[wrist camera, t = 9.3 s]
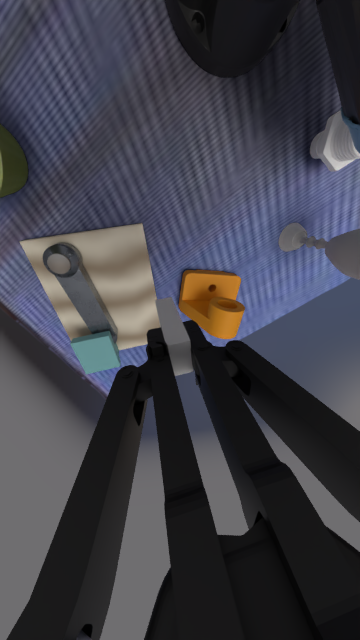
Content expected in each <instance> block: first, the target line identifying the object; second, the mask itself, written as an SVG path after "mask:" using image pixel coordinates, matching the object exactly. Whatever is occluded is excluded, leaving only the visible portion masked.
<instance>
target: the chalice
mask: <svg viewBox="0 0 360 640" xmlns="http://www.w3.org/2000/svg"><path fill="white" fill-rule="evenodd" d="M304 244H306V246H307V247H308V248H310V247H312V246H315V247H316V249H321V248H325V254H326V256H327V257H328V258H329V260H330V261H331V262H332V264H333V265H334V266H335V267H336V268H337V269H338V270H339V271H341V272H342V273H343V274H345V275H347V276H350V277H353V278H356V279H359V280H360V229H357V230H353V231H350V232H347V233H344V234H341V235H339V236H336V237H334V238H332V239H331V240H330V241H329V242H327V241H325V240H324V239H323V238H321V239H319V240H316V238H315V237H314V236H311V237H310V238H307V231H306V230H305V229H304V228H303V227H302V226H301V225H300V224H299V223H291V224H289V225H288V226H286V227H285V228H284V229H283V231H282V233H281V234H280V237H279V247H280V248H281V250H283V251H285V252H288V251H292V250H296V249H299V248H300V247H302V246H303V245H304Z"/></svg>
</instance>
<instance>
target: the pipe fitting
mask: <svg viewBox="0 0 360 640" xmlns="http://www.w3.org/2000/svg"><path fill="white" fill-rule="evenodd" d="M310 155H311V157H312V158H314V159H321V160H322V161H323V162H324V164H325V165H326V166H327V168H328V169H329V170H330V171H338V170H339V169H341V168H343V167H344V166H346V165H347V164H349V163H350V162H352V161H354V160H355V159H359V158H360V153H358V151H357V150H356V149H355V147H354V144H353V141H352V138H351V135H350V132H349V129H348V126H347V125H346V124H345V123H344V121H343V120H342V116H341V110H340V111H338V112H337V113H335V114H334V115H332V116H331V117H329V119H328V121H327V124H326V127H325V130H324V131H322V132H321V133H319V134H317V135H316V136H315V137H314V139H313V140H312V143H311V146H310Z"/></svg>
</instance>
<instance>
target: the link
mask: <svg viewBox="0 0 360 640" xmlns="http://www.w3.org/2000/svg"><path fill="white" fill-rule="evenodd" d="M54 253H62V254H64V255H66V256H67V257H68V258H69V259H70V261H71V268H70V269H69V270H68V272H66V273H64V274H58V273H55V272H53V271H52V270H51V269H50V268H49V266H48V264H47V260H48V258H49V257H50V256H51V255H52V254H54ZM82 261H83V260H82V255H81V253H80V252H79V250H78V249H77V248H76V247H75V246H73V245H71V244H69V243H65V242H59V243H56V244H54V245H52V246H50V247H48V248H47V249H46V250H45V251H44V253H43V263H44V265H45V267H46V269H47V270H48V271H49V272H50V273H52V274H53V275H55V277H56V278H57V280H58V281H59V283H60V285H61V286H62V288H63V289H64V291H65V292H66V294H67V296H68V297H69V299H70V300H71V302H72V303H73V305H74V306H75V308H76V310H77V311H78V313H79V314H80V316H81V317H82V319H83V321H84V322H85V324H86V325H87V327H88V328H89V330H90V331H91V333H92V334H96V333H101V332H106V331H110V334H111V336H112V339H113V342H114V344H115V343H116V342H117V336H118V329H117V327H116V325H115V323H114V321H113V319H112V317H111V316H110V314H109V312H108V310H107V308H106V306H105V304H104V303H103V301H102V299H101V297H100V295H99V293H98V291H97V289H96V288H95V286H94V284H93V282H92V280H91V278H90V276H89V275H88V273H87V271H86V269H85V267H84V265H83V263H82Z"/></svg>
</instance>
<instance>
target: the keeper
mask: <svg viewBox="0 0 360 640" xmlns="http://www.w3.org/2000/svg"><path fill="white" fill-rule="evenodd" d="M70 344H71V346H72V348H73V350H74V352H75V354H76V356H77V357H78V359H79V361H80V363H81V365H82V367H83V369H84V371H85V372H86V374H89V373H94V372H98V371H102V370H107V369H111V368H115V367H120V363H121V360H120V358H119V349H118V346H117V344H116V343H115V344H114V342H113V339H112V336H111V334H110V331H106V332H101V333H96V334H91V335H87V336H82V337H77V338H73V339H72V341H71V343H70Z"/></svg>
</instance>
